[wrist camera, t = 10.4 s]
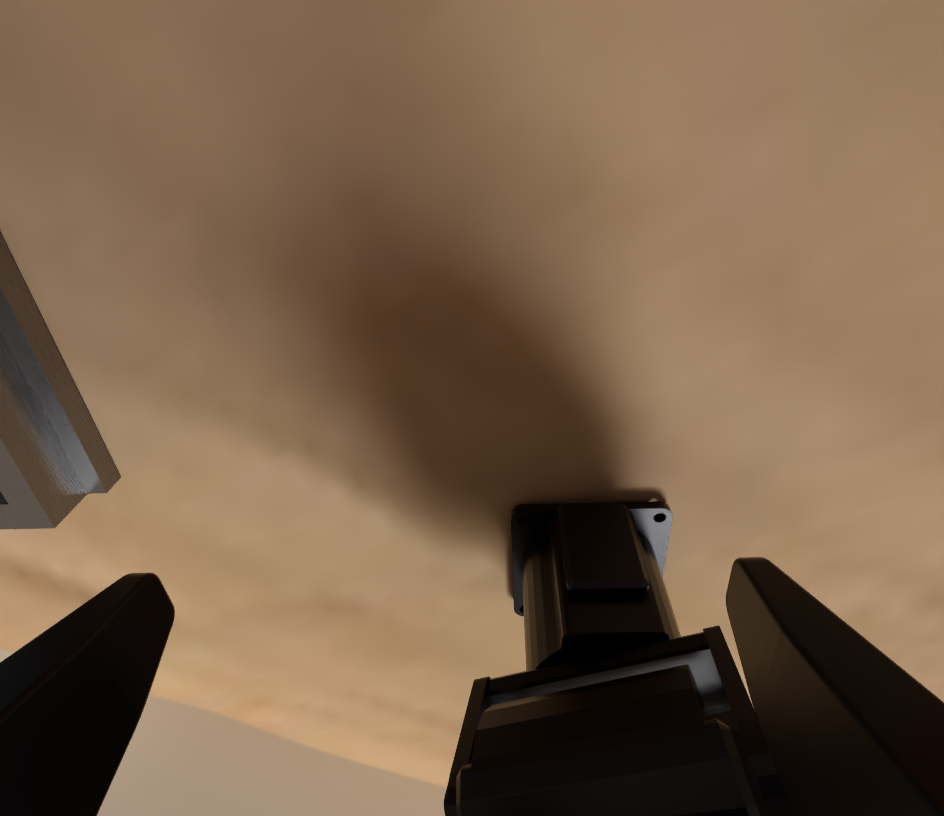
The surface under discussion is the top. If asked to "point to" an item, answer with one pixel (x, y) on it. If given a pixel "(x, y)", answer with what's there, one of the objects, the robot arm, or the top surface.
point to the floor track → (41, 418)
